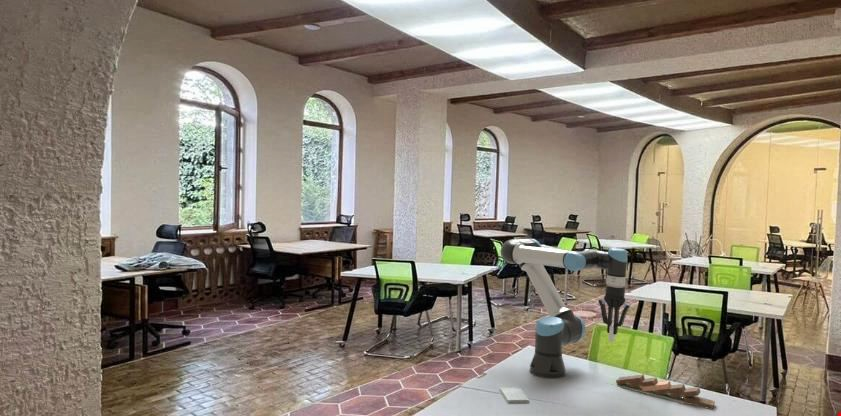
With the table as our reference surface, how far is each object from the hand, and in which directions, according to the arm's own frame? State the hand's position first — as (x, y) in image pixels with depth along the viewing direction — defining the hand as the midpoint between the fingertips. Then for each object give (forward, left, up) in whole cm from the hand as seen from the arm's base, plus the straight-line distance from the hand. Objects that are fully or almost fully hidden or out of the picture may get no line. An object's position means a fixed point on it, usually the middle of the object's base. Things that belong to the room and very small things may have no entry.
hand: (611, 341), depth 223 cm
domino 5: (+24, 0, -16) cm, 29 cm away
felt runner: (+15, 0, -17) cm, 23 cm away
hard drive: (-23, -42, -18) cm, 51 cm away
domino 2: (+9, 0, -16) cm, 18 cm away
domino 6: (+29, 0, -16) cm, 33 cm away
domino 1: (+4, 0, -16) cm, 16 cm away
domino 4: (+19, 0, -16) cm, 25 cm away
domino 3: (+14, 0, -16) cm, 21 cm away
